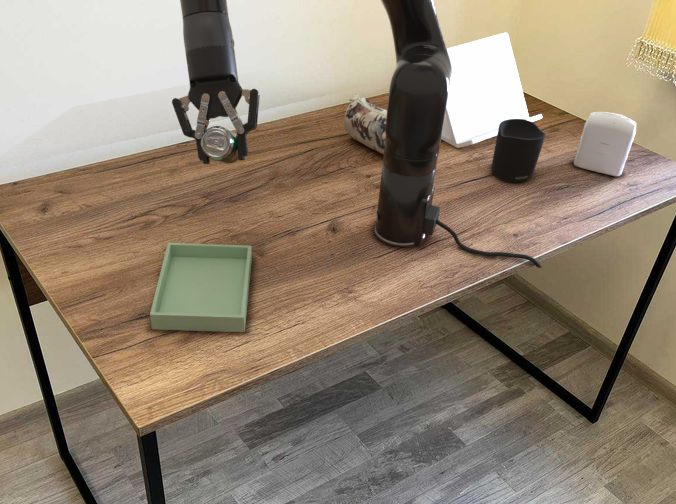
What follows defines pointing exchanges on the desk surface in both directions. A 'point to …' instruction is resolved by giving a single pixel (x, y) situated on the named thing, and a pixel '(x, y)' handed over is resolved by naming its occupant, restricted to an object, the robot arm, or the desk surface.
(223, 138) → the soda can
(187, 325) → the tray
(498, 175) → the pen holder
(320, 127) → the desk surface
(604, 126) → the photo printer
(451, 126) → the tablet stand
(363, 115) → the pencil case
